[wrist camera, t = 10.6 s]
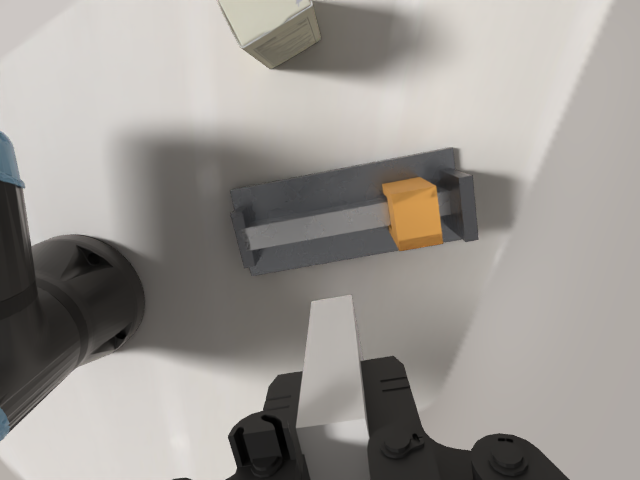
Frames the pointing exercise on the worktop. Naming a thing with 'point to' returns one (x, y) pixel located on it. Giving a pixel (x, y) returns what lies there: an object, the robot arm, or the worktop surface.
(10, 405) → the robot arm
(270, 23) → the skincare box
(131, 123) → the worktop surface
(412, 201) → the orange slider block
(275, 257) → the rail
